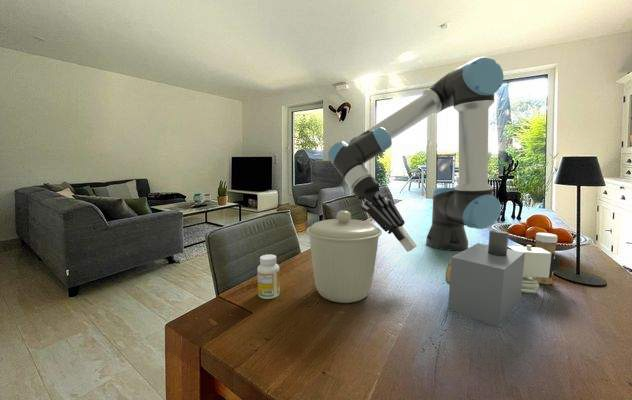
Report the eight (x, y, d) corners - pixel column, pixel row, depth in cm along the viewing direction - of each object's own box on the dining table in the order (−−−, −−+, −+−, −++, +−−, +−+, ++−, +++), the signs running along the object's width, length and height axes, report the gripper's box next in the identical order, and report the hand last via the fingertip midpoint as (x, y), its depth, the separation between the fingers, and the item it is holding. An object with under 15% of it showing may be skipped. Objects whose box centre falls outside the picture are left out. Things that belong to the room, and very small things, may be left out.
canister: (324, 319, 60) (324, 220, 57) (297, 285, 77) (296, 207, 74) (395, 303, 67) (398, 214, 64) (356, 275, 83) (357, 203, 81)
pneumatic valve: (556, 296, 70) (561, 249, 68) (503, 292, 72) (507, 246, 71) (543, 287, 75) (548, 243, 74) (494, 283, 77) (497, 240, 76)
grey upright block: (490, 250, 67) (492, 229, 67) (508, 253, 65) (510, 231, 64) (485, 253, 65) (487, 231, 64) (503, 257, 62) (505, 234, 62)
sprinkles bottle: (540, 285, 77) (545, 236, 75) (527, 278, 81) (531, 232, 79) (556, 284, 77) (562, 236, 75) (542, 278, 81) (547, 231, 79)
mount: (447, 308, 64) (450, 256, 63) (473, 287, 75) (476, 243, 74) (499, 327, 57) (504, 269, 55) (520, 301, 68) (524, 252, 66)
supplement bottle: (271, 287, 75) (270, 252, 74) (284, 294, 71) (283, 256, 70) (253, 294, 71) (252, 256, 70) (266, 301, 67) (265, 262, 66)
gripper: (368, 190, 93) (415, 250, 83) (341, 193, 84) (389, 262, 74) (382, 174, 88) (433, 236, 78) (355, 176, 79) (408, 246, 69)
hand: (412, 248), depth 76 cm, fingers closed
